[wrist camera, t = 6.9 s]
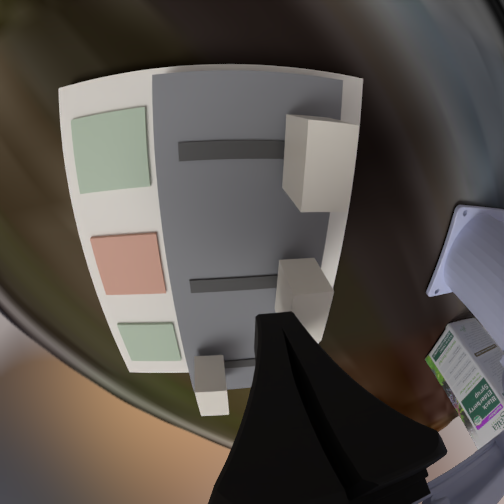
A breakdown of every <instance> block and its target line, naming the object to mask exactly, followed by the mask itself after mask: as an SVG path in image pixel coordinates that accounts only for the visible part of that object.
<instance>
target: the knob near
mask: <svg viewBox="0 0 504 504" xmlns="http://www.w3.org/2000/svg"><path fill="white" fill-rule="evenodd" d="M358 132H359V125H356V124H352V123H348V122H344V121H340V120H336V119H332V118H327V117H317V116H306V115H292V114H286V130H285V149H284V166H283V182H282V188H283V189H284V191H285V192H286V193H287V195H288V196H289V197H290V199H291V200H292V201H293V203H294V204H295V205H296V207H297V208H298V209H299V211H300V212H348V207H349V201H350V195H351V188H352V181H353V174H354V167H355V159H356V151H357V142H358Z"/></svg>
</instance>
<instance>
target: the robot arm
mask: <svg viewBox="0 0 504 504" xmlns="http://www.w3.org/2000/svg"><path fill="white" fill-rule="evenodd" d="M450 292H454V293H455V294H456V296H457V297H458V298H459V299H460V300H461V301H462V302H463V303H464V304H465V306H466V307H467V308H468V309H469V310H470V311H471V312H472V314H473V315H474V316H475V317H476V318H477V319H478V321H479V322H480V323H481V324H482V325H483V327H484V328H485V329H486V330H487V332H488V333H489V334H490V335H491V337H492V338H493V339H494V340H495V342H496V343H497V344H498V345H499V347H500V348H501V349H502V351H503V352H504V209H499V208H490V207H480V206H470V205H458V206H457V207H456V208H455V210H454V214H453V217H452V221H451V224H450V227H449V231H448V234H447V237H446V240H445V243H444V246H443V249H442V252H441V255H440V258H439V260H438V263H437V266H436V268H435V271H434V274H433V276H432V279H431V281H430V284H429V286H428V289H427V291H426V293H427V295H428V296H429V297H431V296H436V295H441V294H445V293H450ZM254 353H255V371H254V376H253V381H252V386H251V390H250V394H249V398H248V402H247V406H246V409H245V412H244V415H243V419H242V422H241V425H240V428H239V430H238V433H237V436H236V438H235V441H234V443H233V446H232V448H231V451H230V453H229V456H228V458H227V460H226V462H225V465H224V467H223V469H222V471H221V473H220V475H219V477H218V479H217V481H216V483H215V485H214V488H213V491H212V494H211V497H210V499H209V502H208V504H418V503H420V502H422V501H423V502H422V504H497V503H498V502H499V501H500V499H501V498H502V497H503V496H504V430H503V431H502V432H500V433H499V434H498V435H497V436H495V437H494V438H493V439H492V440H490V441H489V442H488V443H487V444H485V445H484V446H483V447H481V448H480V449H479V450H477V451H476V452H475V453H474V454H473V455H471V456H470V457H468V458H467V459H466V460H464V461H463V462H461V463H460V464H458V465H457V466H455V467H453V468H452V469H450V470H449V471H447V472H446V473H444V474H442V475H441V476H439V477H437V478H435V479H434V480H432V481H430V482H428V483H427V482H426V480H425V478H426V477H427V476H428V472H427V470H426V468H427V467H429V466H430V465H432V464H434V463H435V462H437V461H438V460H439V459H441V458H442V457H444V456H445V455H446V454H447V449H446V447H445V445H444V443H443V440H442V438H441V437H440V435H439V433H438V432H437V431H436V430H434V429H431V428H429V427H427V426H425V425H422V424H420V423H418V422H416V421H414V420H412V419H410V418H408V417H406V416H404V415H403V414H401V413H399V412H397V411H396V410H394V409H393V408H391V407H389V406H388V405H386V404H385V403H383V402H382V401H380V400H379V399H377V398H376V397H374V396H373V395H372V394H371V393H369V392H368V391H367V390H365V389H364V388H363V387H362V386H360V385H359V384H358V383H357V382H356V381H354V380H353V379H352V378H351V377H350V376H349V375H348V374H347V373H346V372H344V371H343V370H342V369H341V368H340V367H339V366H338V365H337V364H336V363H335V362H334V361H333V360H332V359H331V357H330V356H329V355H328V354H327V353H326V352H325V351H324V350H323V349H322V348H321V346H320V345H319V344H318V343H317V342H316V341H315V340H314V338H313V337H312V336H311V335H310V334H309V332H308V331H307V330H306V329H305V327H304V326H303V325H302V323H301V322H300V321H299V319H298V318H297V317H296V315H295V314H294V313H293V312H292V311H289V312H278V313H267V314H258V315H257V316H256V317H255V338H254ZM499 362H500V363H501V364H502V366H503V367H504V355H503V356H502V358H501V359H500V360H499ZM502 387H503V393H504V370H503V374H502Z"/></svg>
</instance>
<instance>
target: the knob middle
mask: <svg viewBox="0 0 504 504" xmlns="http://www.w3.org/2000/svg"><path fill="white" fill-rule="evenodd" d="M333 294H334V290H333V288H332V287H331V285H330V283H329V282H328V280H327V278H326V276H325V275H324V273H323V271H322V270H321V268H320V266H319V265H318V263H317V261H316V260H315V258H301V259H284V260H279V267H278V278H277V289H276V300H275V312H276V313H278V312H289V311H292V312H293V313H294V314H295V315H296V317H297V318H298V319H299V321H300V322H301V323H302V325H303V326H304V327H305V329H306V330H307V331H308V332H309V334H310V335H311V336H312V337H313V338H314V340H315V341H316V342H318V341H321V339H322V336H323V332H324V329H325V325H326V321H327V318H328V314H329V310H330V306H331V302H332V298H333Z"/></svg>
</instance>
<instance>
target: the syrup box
mask: <svg viewBox="0 0 504 504" xmlns="http://www.w3.org/2000/svg"><path fill="white" fill-rule="evenodd" d="M503 355H504V353H503V352H502V350H501V349H500V348H499V347H498V345H497V344H496V343H495V341H494V340H493V339H492V338H491V337H490V335H489V334H488V333H487V332H486V331H485V329H484V328H483V327H482V326H481V325H480V323H479V322H478V321H477V320H476V319H475V318H470V319H465V320H461V321H457V322H453V323H449V324H448V325H447V326H446V328H445V331H444V332H443V334H442V335H441V337H440V338H439V340H438V341H437V343H436V344H435V346H434V347H433V349H432V350H431V352H430V353H429V354H428V355H427V357H426V359H425V360H426V362H427V364H428V365H429V367H430V368H431V370H432V371H433V373H434V374H435V376H436V378H437V379H438V381H439V382H440V384H441V385H442V387H443V389H444V390H445V392H446V393H447V395H448V397H449V399H450V400H451V402H452V404H453V405H454V407H455V409H456V411H457V412H458V414H459V416H460V418H461V419H462V421H463V422H464V424H465V426H466V428H467V430H468V432H469V434H470V436H471V438H472V439H473V441H474V443H475V445H476V446H477V449H478V450H479V449H480V448H481V447H483V446H484V445H485V444H487V443H488V442H489V441H490V440H492V439H493V438H494V437H495V436H497V435H498V434H499V433H500V432H502V431H503V430H504V393H503V387H502V374H503V370H504V367H503V366H502V364H501V363H500V362H499V360H500V359H501V358H502V356H503Z"/></svg>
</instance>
